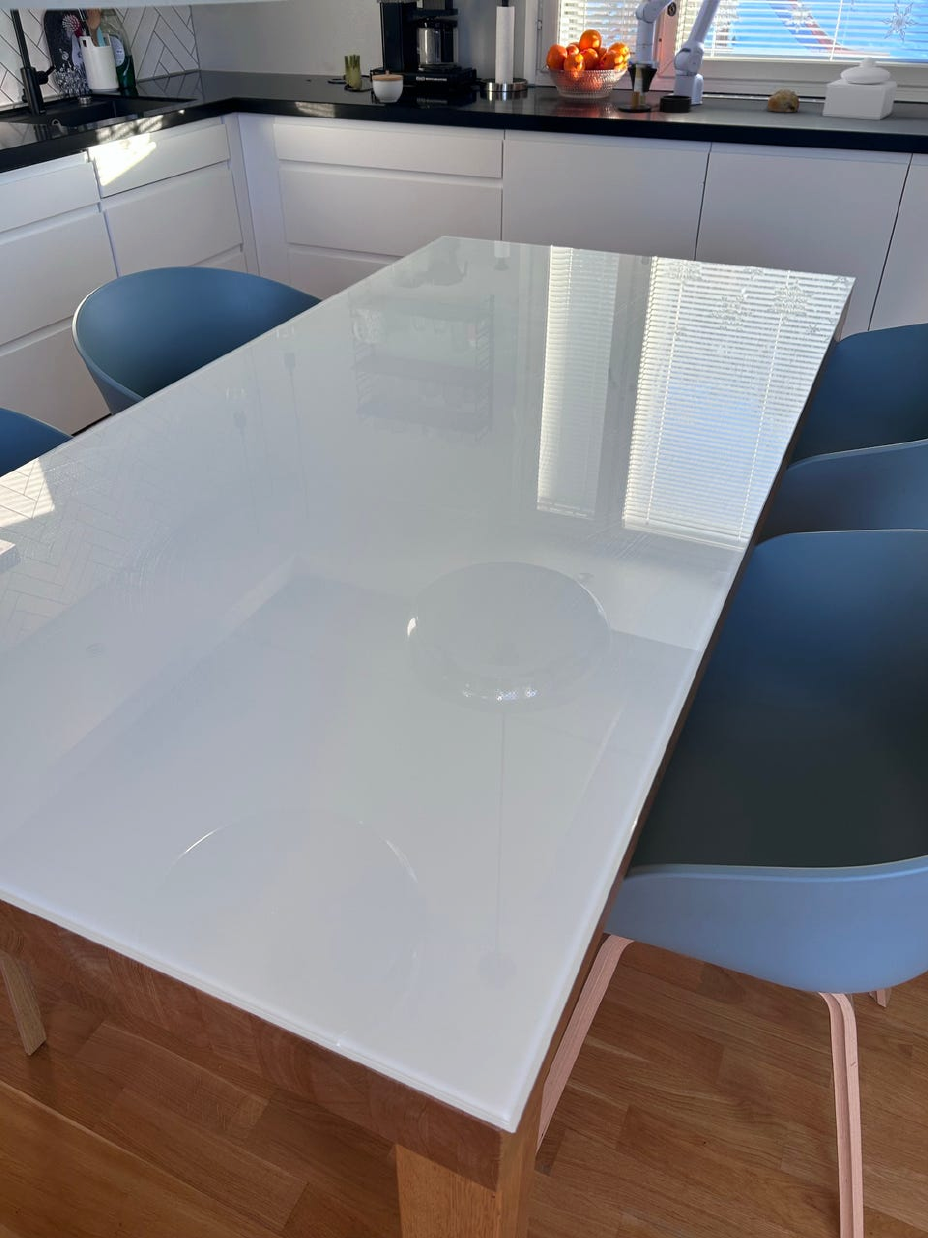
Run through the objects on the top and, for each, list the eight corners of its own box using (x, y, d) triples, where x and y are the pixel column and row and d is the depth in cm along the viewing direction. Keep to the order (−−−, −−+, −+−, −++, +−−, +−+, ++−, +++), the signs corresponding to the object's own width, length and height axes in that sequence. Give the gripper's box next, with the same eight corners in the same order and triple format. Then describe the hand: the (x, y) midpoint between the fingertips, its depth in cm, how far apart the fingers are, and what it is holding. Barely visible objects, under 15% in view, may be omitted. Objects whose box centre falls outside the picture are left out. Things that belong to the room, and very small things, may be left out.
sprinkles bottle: (638, 104, 325) (642, 59, 318) (648, 105, 323) (653, 60, 315) (629, 105, 323) (633, 60, 315) (639, 107, 320) (643, 61, 312)
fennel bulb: (345, 91, 360) (343, 54, 353) (349, 89, 364) (346, 53, 357) (360, 91, 359) (358, 54, 352) (363, 89, 363) (361, 53, 356)
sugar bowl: (404, 98, 340) (403, 68, 335) (403, 102, 331) (402, 72, 326) (374, 99, 340) (372, 69, 335) (372, 103, 331) (371, 72, 326)
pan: (668, 107, 319) (670, 94, 316) (696, 110, 313) (697, 96, 311) (653, 110, 312) (654, 97, 310) (680, 113, 307) (682, 99, 305)
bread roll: (774, 125, 310) (786, 101, 303) (757, 106, 314) (768, 82, 307) (797, 122, 313) (809, 99, 307) (780, 104, 318) (791, 80, 311)
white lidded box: (879, 119, 294) (892, 60, 285) (820, 115, 302) (831, 57, 293) (891, 112, 306) (904, 55, 297) (834, 109, 314) (845, 53, 305)
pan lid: (628, 107, 320) (630, 88, 317) (657, 109, 314) (659, 90, 311) (611, 110, 313) (612, 91, 310) (639, 113, 307) (641, 94, 304)
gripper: (621, 43, 316) (617, 89, 324) (649, 46, 306) (644, 94, 314) (638, 42, 319) (634, 88, 327) (666, 45, 309) (661, 92, 316)
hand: (640, 91), depth 320 cm, fingers open, 5 cm apart
